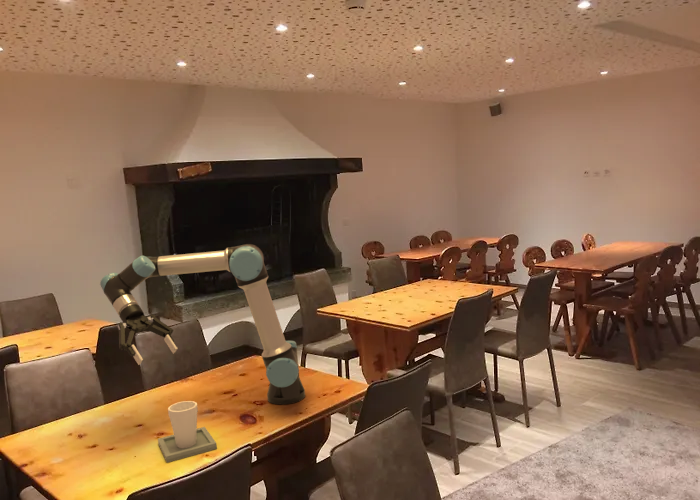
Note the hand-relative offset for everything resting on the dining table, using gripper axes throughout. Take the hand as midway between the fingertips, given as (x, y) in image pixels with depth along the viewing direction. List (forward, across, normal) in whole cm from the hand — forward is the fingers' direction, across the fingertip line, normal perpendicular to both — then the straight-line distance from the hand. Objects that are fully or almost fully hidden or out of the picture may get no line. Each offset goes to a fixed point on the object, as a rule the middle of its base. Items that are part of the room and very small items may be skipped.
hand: (158, 356), depth 194 cm
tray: (+29, 0, -13) cm, 32 cm away
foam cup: (+28, 0, -13) cm, 31 cm away
